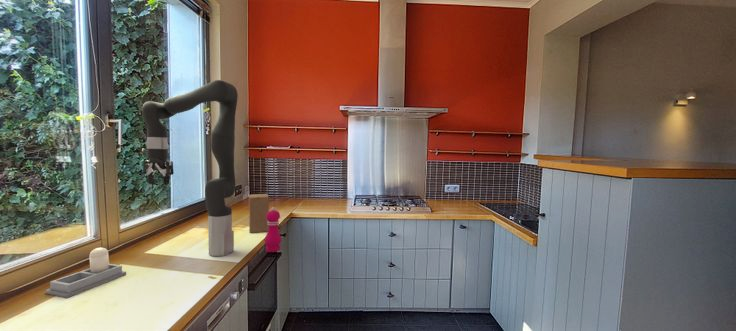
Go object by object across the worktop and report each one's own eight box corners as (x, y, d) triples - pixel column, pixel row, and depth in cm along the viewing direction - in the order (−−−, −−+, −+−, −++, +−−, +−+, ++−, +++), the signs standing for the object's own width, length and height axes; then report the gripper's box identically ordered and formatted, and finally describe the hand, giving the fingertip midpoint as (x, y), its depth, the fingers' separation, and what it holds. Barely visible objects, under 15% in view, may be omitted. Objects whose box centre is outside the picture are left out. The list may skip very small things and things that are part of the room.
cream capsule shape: (113, 273, 100) (111, 246, 99) (96, 279, 95) (94, 251, 95) (103, 271, 101) (101, 244, 101) (87, 277, 97) (85, 249, 96)
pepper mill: (284, 248, 132) (284, 206, 131) (274, 253, 125) (274, 209, 124) (271, 246, 134) (271, 205, 133) (261, 251, 128) (261, 207, 126)
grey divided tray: (126, 274, 102) (125, 265, 102) (67, 297, 86) (66, 286, 85) (106, 271, 104) (106, 261, 104) (45, 293, 88) (44, 282, 88)
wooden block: (268, 231, 157) (268, 196, 156) (249, 233, 154) (249, 197, 152) (267, 227, 167) (267, 193, 165) (249, 228, 163) (249, 194, 162)
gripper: (136, 147, 122) (137, 184, 123) (162, 148, 119) (163, 185, 120) (153, 147, 129) (154, 182, 130) (178, 148, 126) (178, 183, 127)
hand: (158, 184), depth 125 cm, fingers open, 8 cm apart
